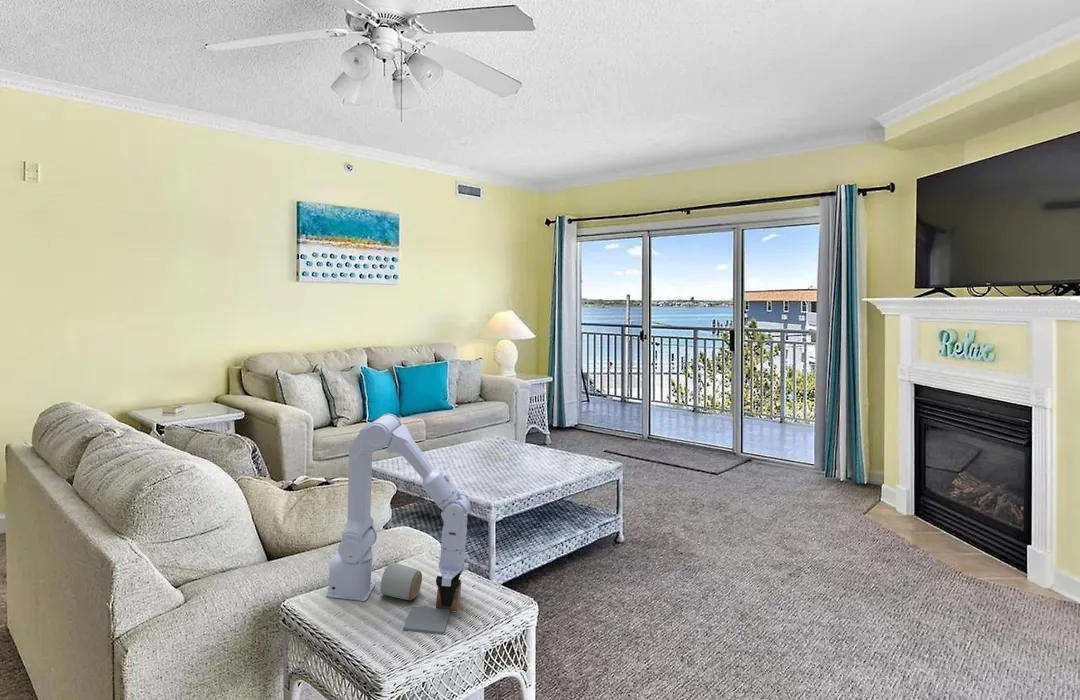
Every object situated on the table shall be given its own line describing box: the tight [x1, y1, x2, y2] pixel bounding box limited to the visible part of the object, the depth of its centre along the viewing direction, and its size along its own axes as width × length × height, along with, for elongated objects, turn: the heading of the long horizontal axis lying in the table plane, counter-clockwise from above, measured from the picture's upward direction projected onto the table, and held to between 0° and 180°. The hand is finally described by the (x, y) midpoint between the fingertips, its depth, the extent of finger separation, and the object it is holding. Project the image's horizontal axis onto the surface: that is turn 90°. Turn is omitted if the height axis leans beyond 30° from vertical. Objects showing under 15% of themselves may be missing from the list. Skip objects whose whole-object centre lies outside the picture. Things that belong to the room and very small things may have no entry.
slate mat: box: [402, 605, 451, 636], centre depth 142 cm, size 9×9×1 cm
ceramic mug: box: [379, 561, 423, 601], centre depth 153 cm, size 11×8×8 cm
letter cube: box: [435, 580, 462, 612], centre depth 150 cm, size 5×5×5 cm
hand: (448, 599), depth 150 cm, fingers closed on letter cube, 5 cm apart
